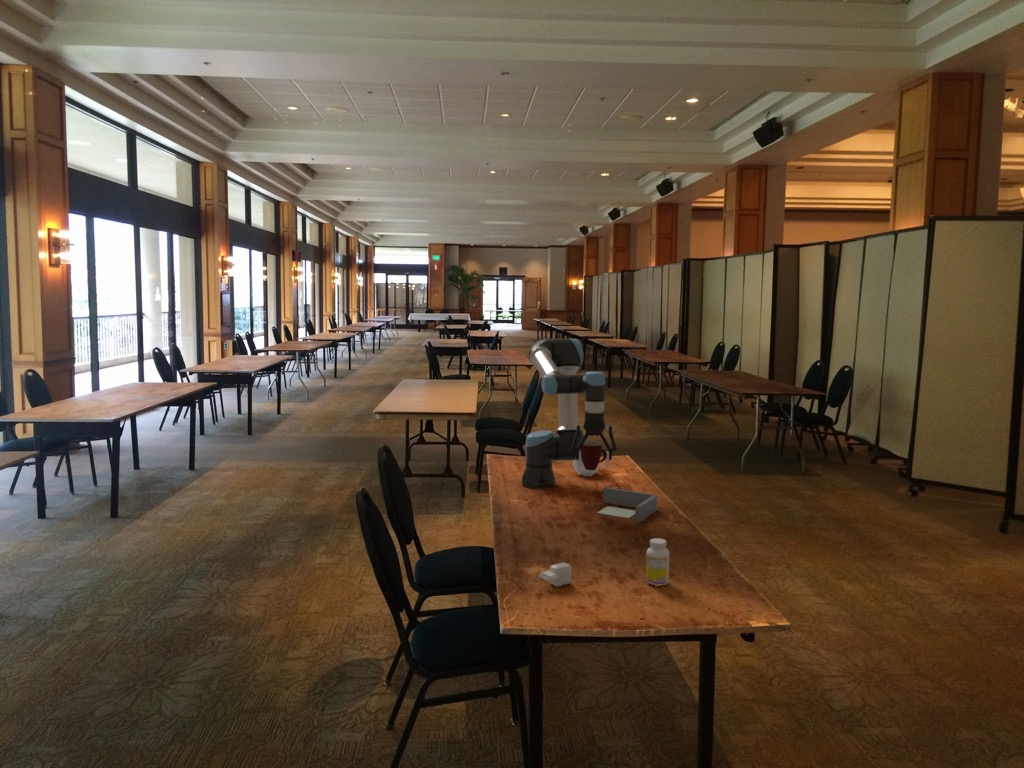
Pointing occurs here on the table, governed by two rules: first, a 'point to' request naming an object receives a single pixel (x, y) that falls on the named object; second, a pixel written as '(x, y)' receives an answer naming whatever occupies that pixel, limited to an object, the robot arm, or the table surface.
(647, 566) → the supplement bottle
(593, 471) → the white lidded pot
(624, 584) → the table surface
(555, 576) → the power adapter
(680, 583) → the table surface
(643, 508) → the corner arena
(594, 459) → the mug
